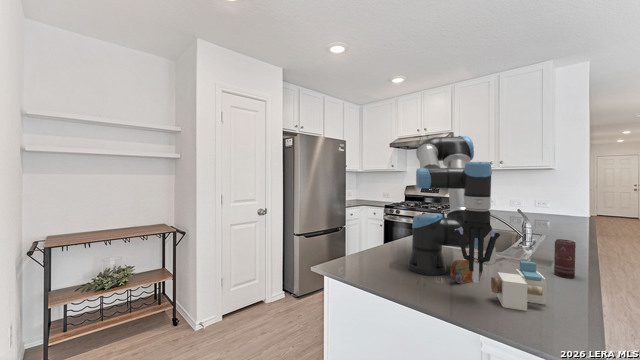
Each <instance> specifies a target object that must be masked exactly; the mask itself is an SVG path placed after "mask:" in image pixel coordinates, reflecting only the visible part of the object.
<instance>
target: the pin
mask: <svg viewBox="0 0 640 360" xmlns="http://www.w3.org/2000/svg"><path fill="white" fill-rule="evenodd" d="M490 279H491V280H490V288H491V292H492V293H493V294H497V293H499V291H500V290H502V282H500V281H499V279H498V278H497V277H493V276H492V277H491V278H490ZM527 294H531V295H538V296H542V295H543V291H542V288H541V287H539V286H531V285H527Z"/></svg>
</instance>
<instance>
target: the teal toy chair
mask: <svg viewBox="0 0 640 360" xmlns="http://www.w3.org/2000/svg"><path fill="white" fill-rule="evenodd" d="M518 270H519V271H520V272H521V273H522V274H523V275H524V276H525V279H529V280H538V281H542V278H541V277H540V276H539V275H538V274H537V273H536V271H537V263H536V262H535V261H534V262H533V261H527V260H526V261H523V260H519V269H518Z"/></svg>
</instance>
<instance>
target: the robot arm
mask: <svg viewBox="0 0 640 360" xmlns="http://www.w3.org/2000/svg"><path fill="white" fill-rule="evenodd" d="M474 149H475V148H474V143H473V140H472V138H471V137H469V136H466V135H465V136H463V135H458V136H433V137H431V138H430V137H429V138H428V139H425V140H423V141H422V142H421V143H420V144H419V145H418V146H417V149H416V150H415V151H416V152H415V153H416V158H417V160H418V161H419V168H416V173H415V186H416V187H417V188H419V189H447V190H448V199H449V212H447V213H446V216H445V217H443V214H442V213H439V212H438V213H437V212H433V213H432V212H430V213H421V214H417V215H414V216H413V218H412V226H411V228H412V241H411V242H412V244H411V245H412V247H411V252H410V254H409V257H408V260H407V268H408V269H409V270H410V271H411V272H414V273H416V274H420V275H428V276H439V275H440V276H441V275H444V274H445V273H446V272H447V265H446V261H445V258H444V255H443V250H442V249H443V246H445V247H452V248H453V247H456V248H460V250H461V254H462V257H463V258H462V259H466V260H468V261H469V270H470V271H472V280H473V281H472V282H473V283H474V284H479V283H480V278H479V272H481V273H482V274H483V270H484V269H483V268H484V262H489V261H490V258H491V255H492V252H493V248H495V245H496V242H497V240H498V239H499V237H500V236H501V234H500V233H499V232H498V231H496V230H494V229H493V227H492V225H491V211H490V210H491V205H492V204H491V201H492V198H491V197H492V196H491V194H492V175H493V171H492V164H491V162H489V161H472V160H473V159H474V156H475V150H474ZM441 161H442V164H443V165H444V167H441V165H440V162H441ZM488 235H489V236H490V237H489V240H488V243H487V246H486V250H485V252H484V244H485V243H484V242H485V238H486V237H487V236H488ZM466 248H467V249H468V253H467V250H466ZM476 248H477V259H478V261H476V260H474V258H475V249H476ZM484 253H485V254H484ZM483 255H485V256H484V257H483Z"/></svg>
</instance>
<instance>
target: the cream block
mask: <svg viewBox="0 0 640 360" xmlns="http://www.w3.org/2000/svg"><path fill="white" fill-rule="evenodd" d="M496 278H498V279H499V281H500V282H502V290H500V291H499V293H496V297H497V299H498V301H499V302H500V304H501V307H503V308H506V309H510V310H511V309H512V310H518V311H524V312H527V311H528V302H527V283H526V282H525V281H524V279H523V278H522V277H521V276H520V275H517V274H515V273H507V272H499V271H498V272H497V277H496Z"/></svg>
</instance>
